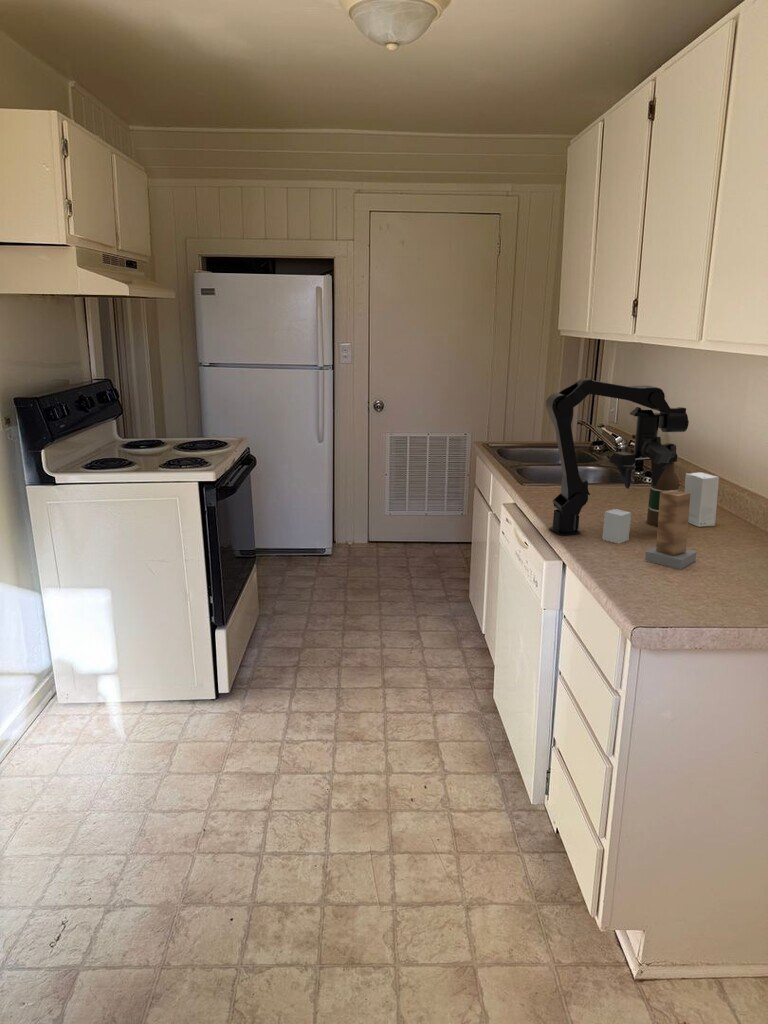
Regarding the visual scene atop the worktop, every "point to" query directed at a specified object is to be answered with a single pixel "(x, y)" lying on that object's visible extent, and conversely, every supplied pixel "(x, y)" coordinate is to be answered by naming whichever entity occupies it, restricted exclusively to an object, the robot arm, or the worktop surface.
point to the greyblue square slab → (671, 558)
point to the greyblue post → (616, 526)
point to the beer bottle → (664, 484)
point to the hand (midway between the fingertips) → (640, 487)
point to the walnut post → (673, 522)
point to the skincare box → (702, 498)
